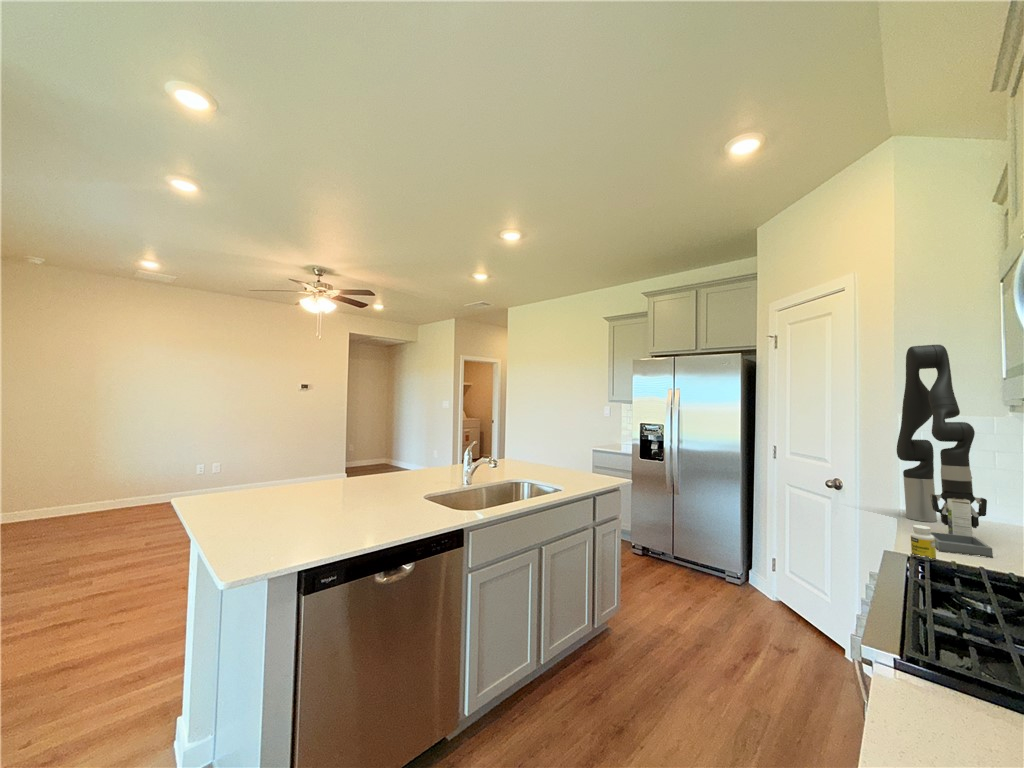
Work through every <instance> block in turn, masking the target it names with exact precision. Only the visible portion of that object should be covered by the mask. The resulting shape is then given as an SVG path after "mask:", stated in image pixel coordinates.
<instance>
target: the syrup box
mask: <svg viewBox="0 0 1024 768" xmlns="http://www.w3.org/2000/svg"><path fill="white" fill-rule="evenodd" d="M971 506H972V505H971ZM971 506H970V501H969V500H963V499H952V498H947V511H948V512H947V515H948V525H947V530H948V534H955V535H964V536H973V527H972V521H971V516H972V515H971Z"/></svg>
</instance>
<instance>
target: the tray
mask: <svg viewBox="0 0 1024 768" xmlns="http://www.w3.org/2000/svg"><path fill="white" fill-rule="evenodd" d="M930 534H931V535H933V536H934V538H935V550H937V552H940V551H942V553H948V552H950V553H949V554H956V553H962V554H961V555H964V554H969V555H968V556H972V555H980V556H986V557H985V558H988V557H990V558H991V559H993V558H994V556H993V548H992V547H991V546H989V545H988V544H987V543H985V542H984V541H982V540H980V539H979V538H978V537H976V536H973V535H972V536H964V535H955V534H949V533H946V532H945V533H944V532H936V531H935V532H934V531H931V533H930ZM980 556H979V557H980Z"/></svg>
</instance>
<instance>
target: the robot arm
mask: <svg viewBox="0 0 1024 768" xmlns="http://www.w3.org/2000/svg"><path fill="white" fill-rule="evenodd" d="M905 355H906V356H905V382H904V383H905V385H904V393H903V399H902V409H901V410H902V411H901V424H900V430H899V434H898V439H897V443H896V455H897V457H898V459H899V460H900V461H904V462H918V463H919V464H918V465H916V466H913V467H910V468H907V469H904V470H903V471H902V474H903V488H904V502H905V517H906V519H909V520H913V521H918V522H929V523H931V522H933V523H934V522H935V523H936V522H938V520H937V513H939V514H940V521H941V522H940V523H942V524H944V526H948V515H947V512H948V511H947V498H952V499H963V500H969V501H970V506H971V521H972V529H977V527H978V528H979V526H980V524H979V523H980V522H979V517H980V518H981V517H985V516H987V504H988V500H987V499H986V498H984V497H975V495H974V491H973V477H972V471H971V467H970V466H971V465H970V451H971V448H972V445H973V441H974V439H975V434H976V433H975V428H974V427H973V425H971V424H970V423H968V422H965V421H961V422H960V421H946V420H947V419H952V418H956V417H959V415H960V413H961V411H960V408H959V404H958V402H957V399H956V398H957V397H956V396H955V393H954V387H953V381H952V379H953V378H952V372H951V365H950V357H949V353H948V350H947V348H946V347H945V346H944V345H942V344H927V345H925V344H924V345H913V346H910V347H908V349H907V351H906V354H905ZM925 369H936V372H937V376H936V379H935V381H934V383H933V384H932V386H931V388H930V390H929V389H928V388H927V386H926V385H925V384H924V382H923V381H922V379H921V376H920V370H925ZM931 417H932V426H931V434H932V437H933V438H934V439H935V440H936V441H937V442H946V443H947V442H948V443H949V442H950V443H951V442H953V443H956V444H955V445H954V446H952V447H947V448H943V449H941V450H940V481H941V483H940V484H941V494H936V492H935V490H936V489H935V487H936V486H935V476H934V475H935V473H934V471H935V467H934V465H935V464H934V459H935V458H934V457H935V456H934V454H935V453H934V447H933V444H932V442H931V441H930V440H928V439H913V436H914V435H915V434H916V432H917V431H918V430H919V429H920V428H921V427H922V426H923V425H925V424H926V423H927V422H928V421H929V420H930V419H931ZM941 499H942V500H943V501H944V504H943V505H942V507H941V508H940V507H939V502H940V500H941ZM975 501H976V504H978V511H976V510H975V508H974V507H973V506H972V504H973V503H974V502H975Z"/></svg>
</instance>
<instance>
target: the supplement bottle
mask: <svg viewBox="0 0 1024 768" xmlns="http://www.w3.org/2000/svg"><path fill="white" fill-rule="evenodd" d="M912 530H913V531H912V532H910V547H911V551H910V552H911V555H912V554H914V555H920V556H927V557H930V558H932V559H936V560H937V556H936V555H937V554H936V550H937V549H936V548H935V538H934V536H933V535H931V534H930V533H931V532H932V528H931V527H929V526H927V525H921V524H917V525H916V524H913V525H912Z"/></svg>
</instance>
